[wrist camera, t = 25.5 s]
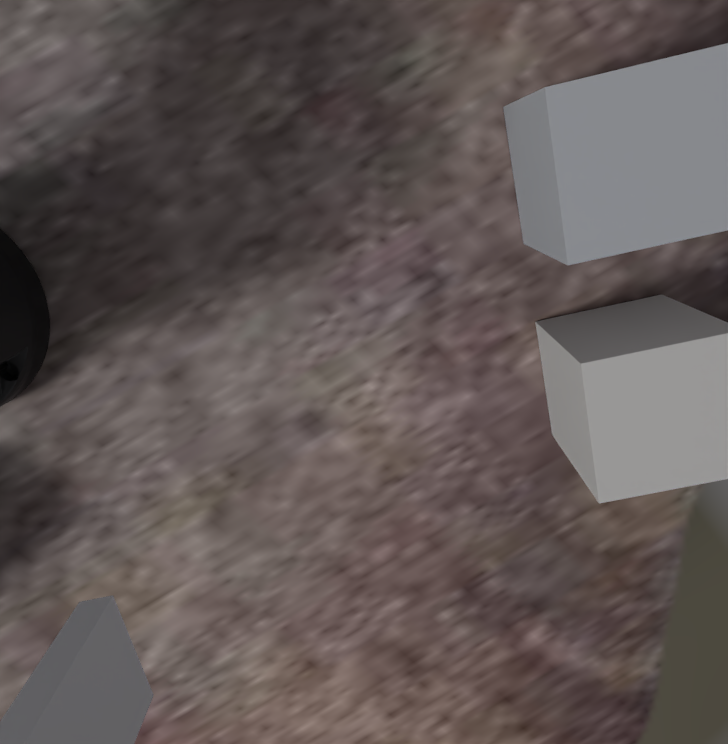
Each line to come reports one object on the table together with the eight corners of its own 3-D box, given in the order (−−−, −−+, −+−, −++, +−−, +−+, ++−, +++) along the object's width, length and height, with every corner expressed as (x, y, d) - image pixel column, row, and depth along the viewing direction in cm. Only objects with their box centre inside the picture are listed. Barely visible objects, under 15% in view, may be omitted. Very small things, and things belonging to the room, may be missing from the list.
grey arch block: (523, 243, 42) (567, 265, 33) (503, 106, 40) (544, 87, 30) (654, 214, 42) (739, 227, 32) (642, 73, 39) (729, 42, 30)
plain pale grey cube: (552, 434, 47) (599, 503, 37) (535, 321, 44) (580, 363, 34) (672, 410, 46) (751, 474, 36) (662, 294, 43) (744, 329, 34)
